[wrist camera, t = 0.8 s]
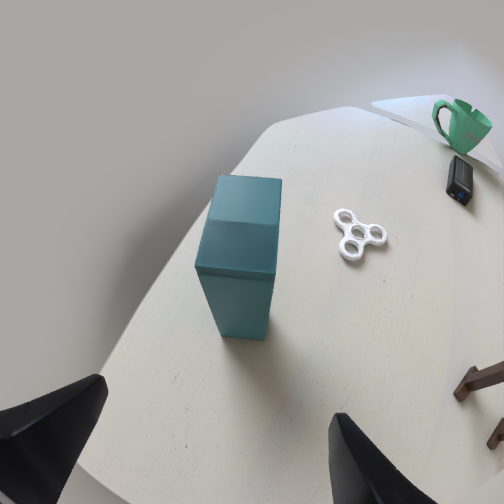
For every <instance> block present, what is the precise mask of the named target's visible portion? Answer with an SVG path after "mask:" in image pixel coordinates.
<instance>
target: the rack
mask: <svg viewBox="0 0 504 504" xmlns="http://www.w3.org/2000/svg"><path fill="white" fill-rule="evenodd" d="M501 382H504V361H502V362H500V363H497V364H495V365H493V366H490V367H487V368H485V369H482V370H480V371H478V369H477V368H476V366H473V367H471V368H470V369H469V370H468V372H467V374H466V375H465V377H464V378H463V380H462V381H461V383H460V384H459V386H458V387H457V389H456V390H455V391H454V393H453V394H454V395H455V396H456V398H457V399H458V401H464V400H465V399H466V397H467V396H468V394H469V393H470V392H471V391H475V390H479V389H482V388H486V387H489V386H492V385H495V384H498V383H501ZM500 441H504V418H502V419H501V421H500V422H499V424H498V426H497V427H496V429H495V431H494V432H493V434H492V436H491V437H490V439H489V441H488V442H487V445H488V446H489V448H490V449H496V447H497V446H498V444H499V442H500Z"/></svg>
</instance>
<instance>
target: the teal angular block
mask: <svg viewBox="0 0 504 504" xmlns="http://www.w3.org/2000/svg"><path fill="white" fill-rule="evenodd" d="M281 189H282V179H275V178H263V177H250V176H236V175H219V177H218V180H217V184H216V187H215V190H214V194H213V197H212V201H211V205H210V208H209V212H208V216H207V219H206V222H205V226H204V230H203V234H202V237H201V241H200V245H199V249H198V253H197V257H196V261H195V268H196V271H197V274H198V277H199V280H200V282H201V285H202V288H203V291H204V293H205V296H206V299H207V301H208V304H209V307H210V309H211V312H212V314H213V317H214V320H215V322H216V325H217V327H218V330H219V332H220V335H221V336H226V337H234V338H242V339H252V340H261V341H264V340H265V335H266V329H267V323H268V317H269V312H270V306H271V300H272V294H273V288H274V281H275V275H276V264H277V251H278V237H279V222H280V206H281Z"/></svg>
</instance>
